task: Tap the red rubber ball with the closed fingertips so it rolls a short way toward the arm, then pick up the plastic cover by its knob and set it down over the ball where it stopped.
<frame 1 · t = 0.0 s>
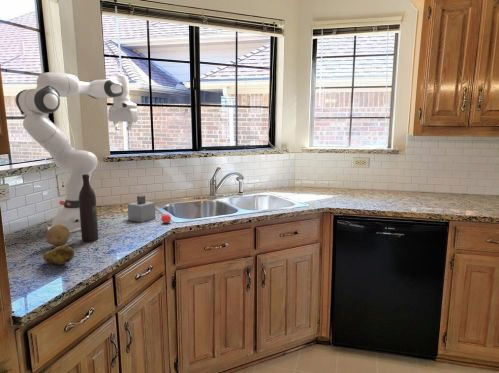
hand: (123, 130, 211), 48 cm above the worktop, tool pointing down, fingers open, 8 cm apart
wine bottle: (90, 240, 171), on the worktop
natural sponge: (58, 248, 160), on the worktop
ball: (166, 218, 199), on the worktop
cover: (142, 218, 207), on the worktop
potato: (60, 265, 142), on the worktop
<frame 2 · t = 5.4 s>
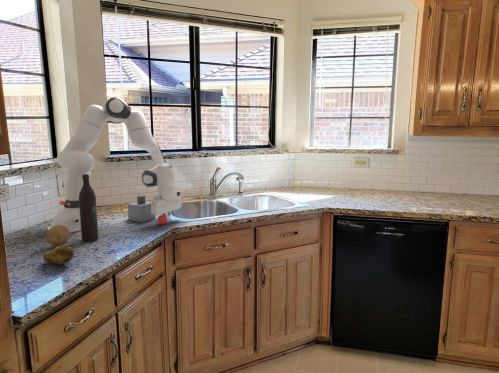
hand: (167, 219, 200), 2 cm above the worktop, tool pointing down, fingers closed
ball: (162, 219, 196), on the worktop, touching gripper
everything else where it was.
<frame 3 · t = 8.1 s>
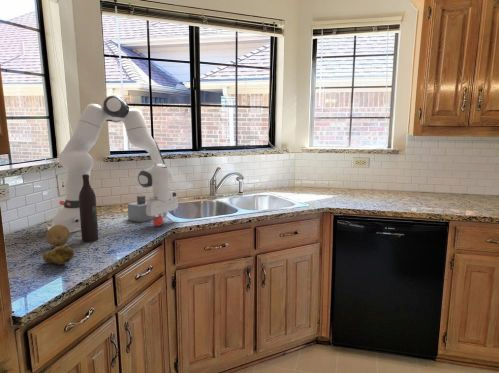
hand: (163, 220, 196), 2 cm above the worktop, tool pointing down, fingers closed
ball: (157, 221, 193), on the worktop, touching gripper
everything else where it was.
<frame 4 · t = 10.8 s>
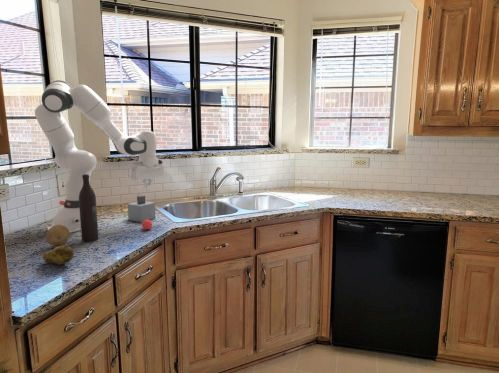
hand: (147, 187, 199), 19 cm above the worktop, tool pointing down, fingers closed
ball: (147, 224, 187), on the worktop
everything else where it was.
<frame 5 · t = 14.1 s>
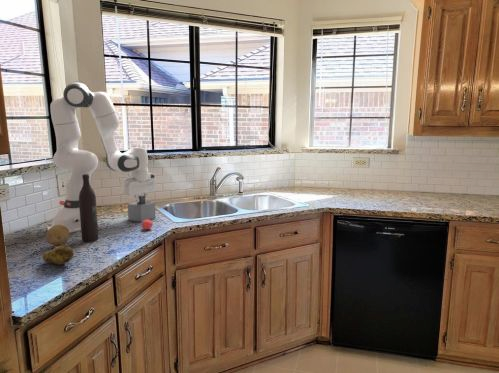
hand: (141, 201, 205), 10 cm above the worktop, tool pointing down, fingers closed on cover, 3 cm apart
cover: (142, 218, 207), on the worktop, touching gripper
everything else where it was.
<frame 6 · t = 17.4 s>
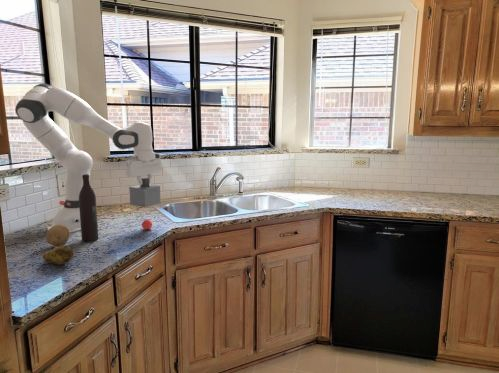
hand: (144, 184, 183), 23 cm above the worktop, tool pointing down, fingers closed on cover, 3 cm apart
cover: (145, 203, 185), point 13 cm above the worktop, touching gripper
everything else where it was.
when the fingers open (10 cm above the worktop, at t = 20.9 s): cover stays where it is, on the worktop.
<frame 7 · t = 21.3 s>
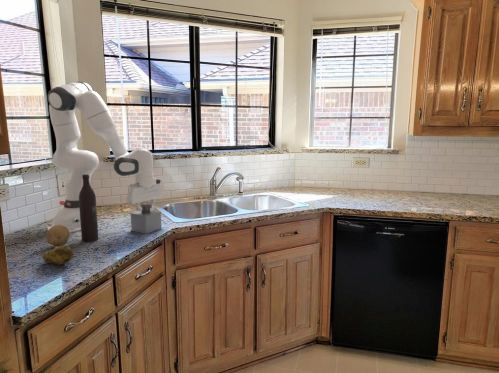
hand: (145, 209, 185), 10 cm above the worktop, tool pointing down, fingers open, 6 cm apart
cover: (146, 229, 187), on the worktop
everything else where it was.
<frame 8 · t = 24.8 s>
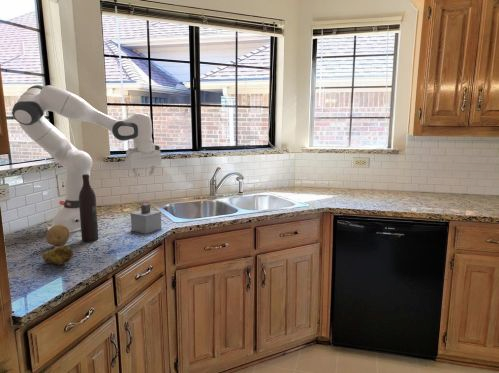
hand: (144, 175, 182), 27 cm above the worktop, tool pointing down, fingers open, 8 cm apart
nothing on the worktop moved.
at the end: ball 0.3 cm from the cover (horizontally); cover on the worktop; ball moved 13.8 cm from its start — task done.
